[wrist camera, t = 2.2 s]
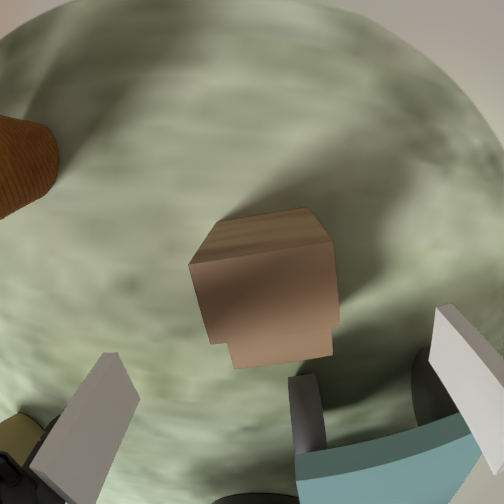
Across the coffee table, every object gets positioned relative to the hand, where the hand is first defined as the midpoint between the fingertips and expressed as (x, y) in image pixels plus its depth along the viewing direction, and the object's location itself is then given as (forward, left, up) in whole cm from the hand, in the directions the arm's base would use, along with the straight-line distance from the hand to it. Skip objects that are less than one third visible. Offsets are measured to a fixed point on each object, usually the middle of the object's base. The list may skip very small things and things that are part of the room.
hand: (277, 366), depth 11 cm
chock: (0, 0, -10) cm, 10 cm away
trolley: (-18, -6, -10) cm, 22 cm away
